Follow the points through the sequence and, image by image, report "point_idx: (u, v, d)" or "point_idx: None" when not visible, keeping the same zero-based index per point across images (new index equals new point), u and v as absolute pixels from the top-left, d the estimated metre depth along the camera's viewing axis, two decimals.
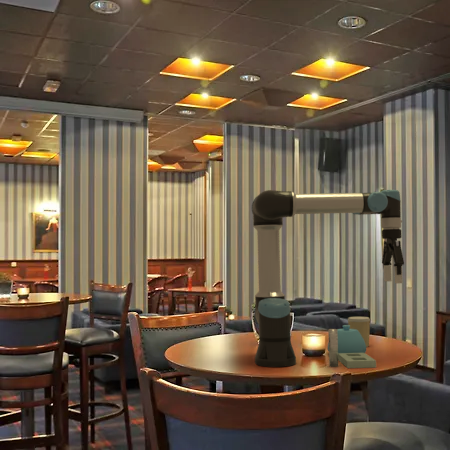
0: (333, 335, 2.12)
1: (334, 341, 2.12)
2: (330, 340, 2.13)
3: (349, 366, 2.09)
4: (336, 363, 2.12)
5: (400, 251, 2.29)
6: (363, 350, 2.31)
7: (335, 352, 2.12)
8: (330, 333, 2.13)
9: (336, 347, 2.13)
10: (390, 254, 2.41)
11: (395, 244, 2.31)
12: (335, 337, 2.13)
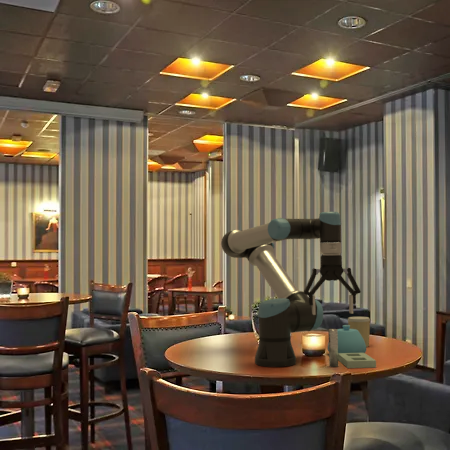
0: (333, 335, 2.12)
1: (334, 341, 2.12)
2: (330, 340, 2.13)
3: (349, 366, 2.09)
4: (336, 363, 2.12)
5: (310, 280, 2.14)
6: (363, 350, 2.31)
7: (335, 352, 2.12)
8: (330, 333, 2.13)
9: (336, 347, 2.13)
10: (342, 283, 2.15)
11: (312, 272, 2.15)
12: (335, 337, 2.13)
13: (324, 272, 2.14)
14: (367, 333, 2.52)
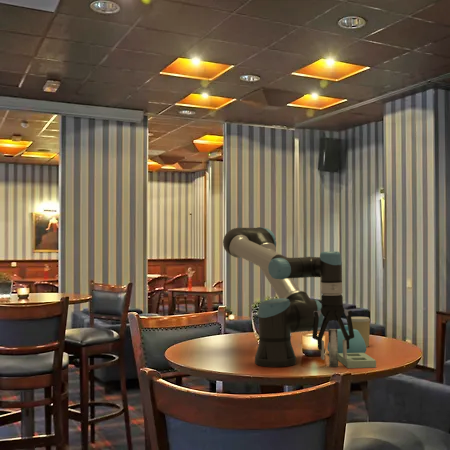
0: (333, 335, 2.12)
1: (334, 341, 2.12)
2: (330, 340, 2.13)
3: (349, 366, 2.09)
4: (336, 363, 2.12)
5: (314, 324, 2.13)
6: (363, 350, 2.31)
7: (335, 352, 2.12)
8: (330, 333, 2.13)
9: (336, 347, 2.13)
10: (339, 324, 2.14)
11: (314, 315, 2.15)
12: (335, 337, 2.13)
13: (325, 312, 2.13)
14: (367, 333, 2.52)
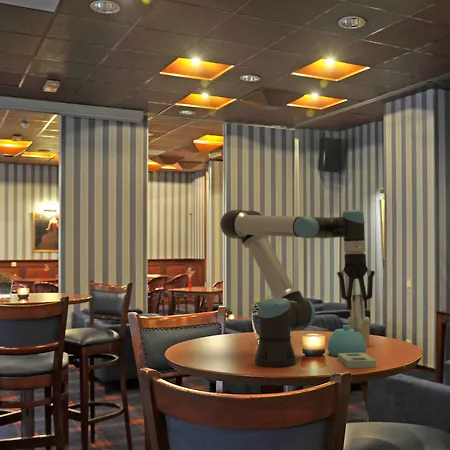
0: (357, 299, 2.12)
1: (358, 305, 2.12)
2: (354, 305, 2.13)
3: (349, 366, 2.09)
4: (361, 328, 2.12)
5: (341, 284, 2.13)
6: (363, 350, 2.31)
7: (359, 317, 2.12)
8: (354, 298, 2.13)
9: (360, 312, 2.13)
10: (360, 283, 2.14)
11: (338, 276, 2.15)
12: (359, 302, 2.13)
13: (349, 270, 2.13)
14: (367, 333, 2.52)
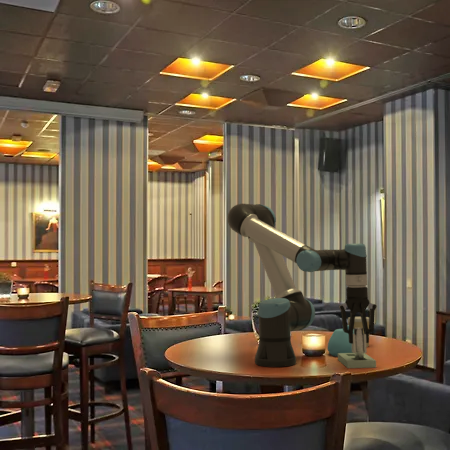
0: (359, 333, 2.12)
1: (360, 339, 2.12)
2: (356, 339, 2.13)
3: (349, 366, 2.09)
4: None
5: (342, 318, 2.13)
6: None
7: (361, 351, 2.12)
8: (356, 332, 2.13)
9: (362, 346, 2.12)
10: (362, 317, 2.14)
11: (340, 309, 2.15)
12: (361, 336, 2.12)
13: (351, 303, 2.13)
14: None
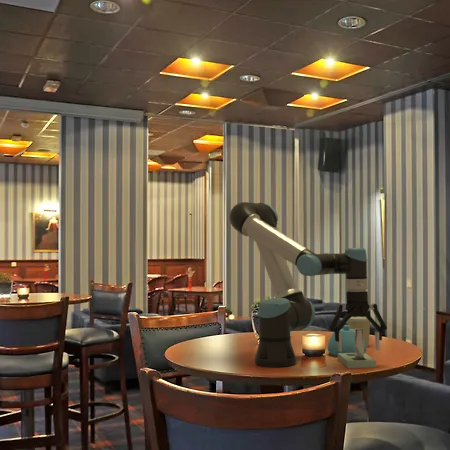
0: (359, 334, 2.12)
1: (360, 340, 2.12)
2: (356, 340, 2.12)
3: (349, 366, 2.09)
4: None
5: (336, 316, 2.13)
6: None
7: (361, 352, 2.12)
8: (356, 333, 2.13)
9: (362, 347, 2.12)
10: (368, 319, 2.14)
11: None
12: (361, 337, 2.12)
13: (350, 308, 2.13)
14: (367, 333, 2.52)
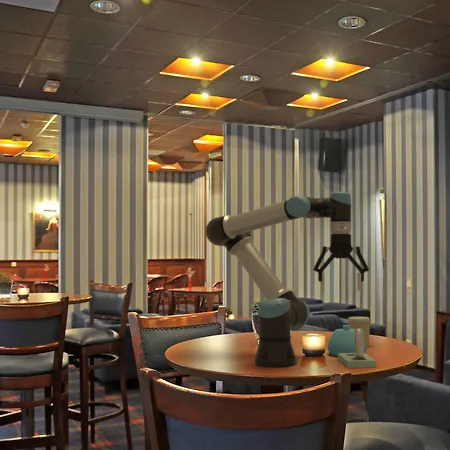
0: (359, 334, 2.12)
1: (360, 340, 2.12)
2: (356, 340, 2.12)
3: (349, 366, 2.09)
4: None
5: (319, 257, 2.21)
6: None
7: (361, 352, 2.12)
8: (356, 333, 2.13)
9: (362, 347, 2.12)
10: (351, 261, 2.22)
11: (322, 250, 2.23)
12: (361, 337, 2.12)
13: (334, 250, 2.21)
14: (367, 333, 2.52)
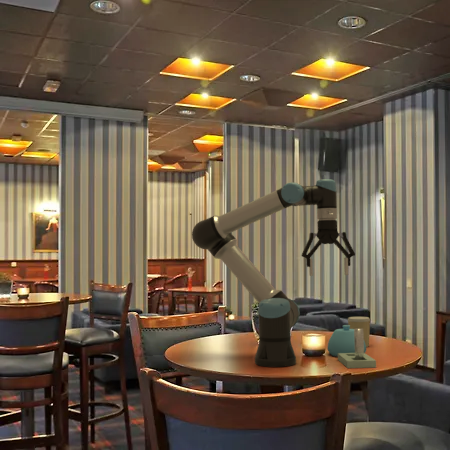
0: (359, 334, 2.12)
1: (360, 340, 2.12)
2: (356, 340, 2.12)
3: (349, 366, 2.09)
4: None
5: (307, 243, 2.28)
6: None
7: (361, 352, 2.12)
8: (356, 333, 2.13)
9: (362, 347, 2.12)
10: (337, 246, 2.29)
11: (309, 236, 2.30)
12: (361, 337, 2.12)
13: (321, 236, 2.28)
14: (367, 333, 2.52)
